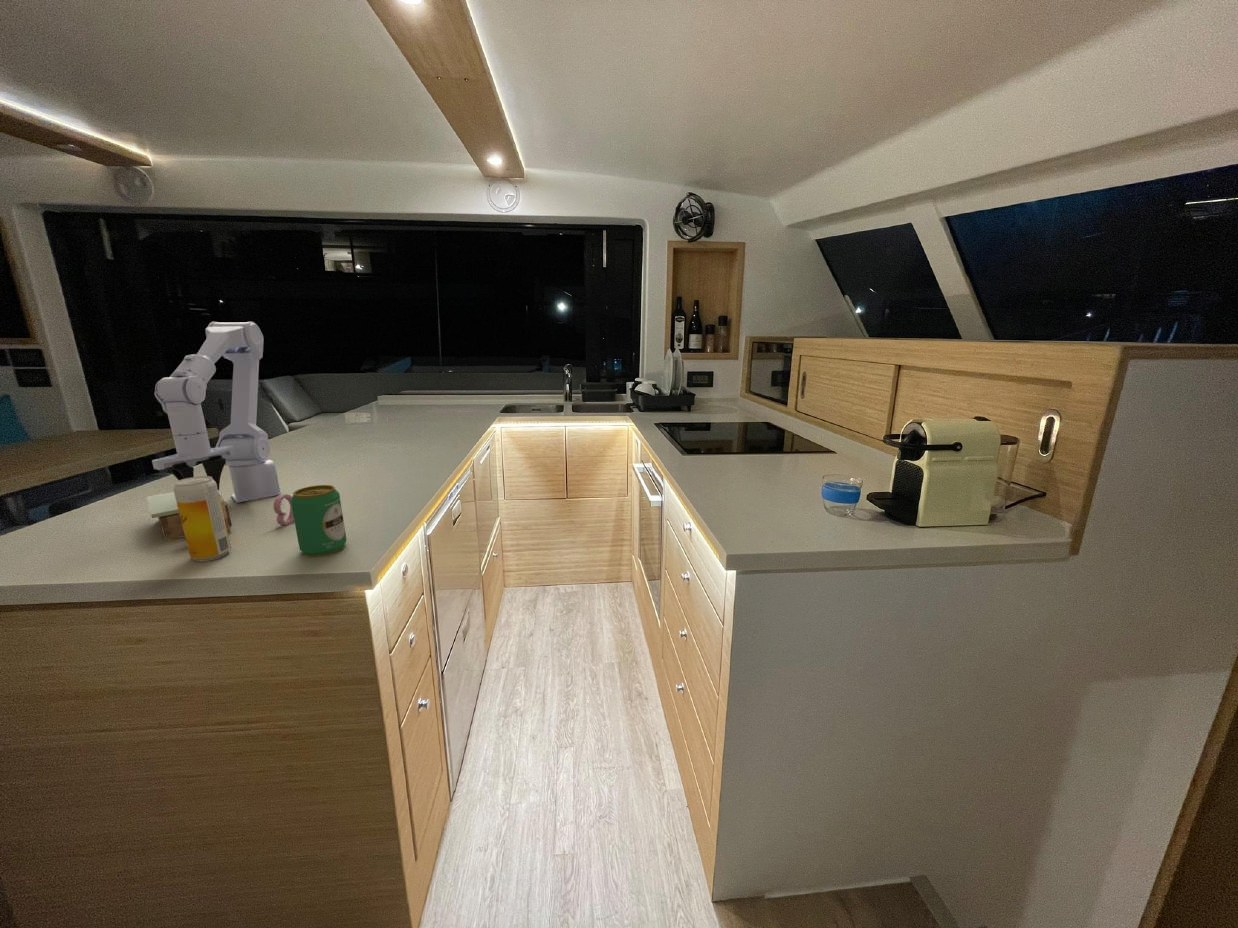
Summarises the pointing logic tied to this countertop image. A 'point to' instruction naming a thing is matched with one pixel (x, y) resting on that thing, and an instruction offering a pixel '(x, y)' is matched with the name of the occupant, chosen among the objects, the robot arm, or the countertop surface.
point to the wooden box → (179, 524)
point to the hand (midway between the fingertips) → (203, 492)
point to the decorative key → (278, 511)
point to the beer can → (202, 518)
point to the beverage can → (318, 520)
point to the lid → (163, 504)
